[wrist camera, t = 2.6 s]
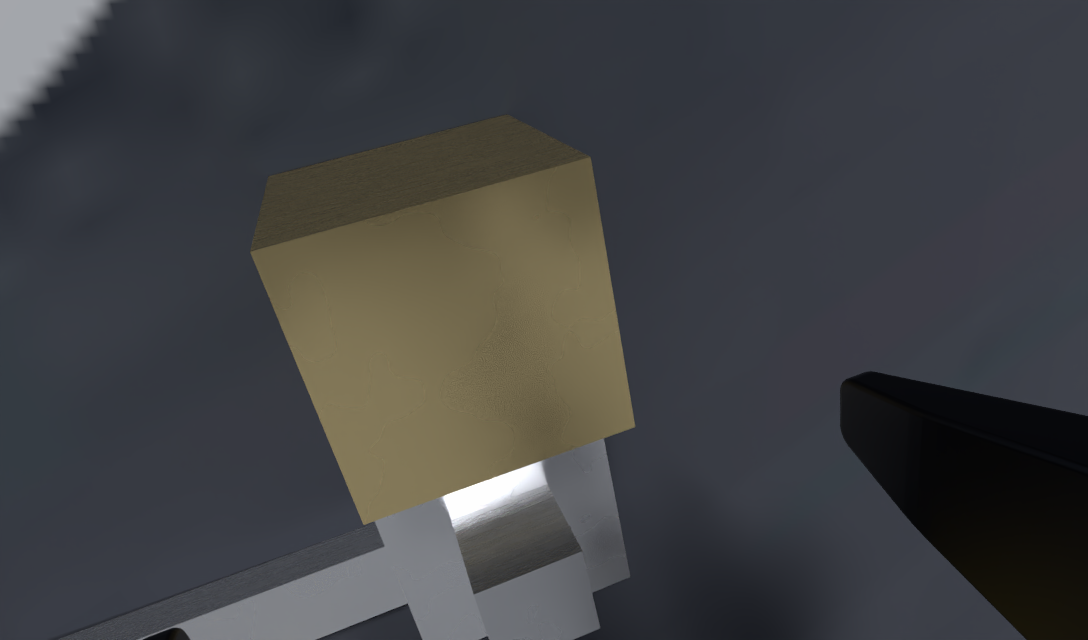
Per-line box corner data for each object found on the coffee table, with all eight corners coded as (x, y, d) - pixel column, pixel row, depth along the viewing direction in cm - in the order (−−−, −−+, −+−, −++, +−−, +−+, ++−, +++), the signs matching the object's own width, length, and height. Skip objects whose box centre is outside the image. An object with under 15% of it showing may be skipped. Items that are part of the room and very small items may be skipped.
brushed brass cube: (506, 114, 18) (590, 157, 12) (551, 320, 20) (635, 427, 15) (268, 176, 17) (250, 251, 11) (348, 385, 19) (363, 524, 14)
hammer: (579, 384, 22) (641, 465, 18) (612, 547, 25) (671, 647, 21) (-14, 591, 18) (-99, 747, 14) (111, 749, 22) (69, 912, 18)
